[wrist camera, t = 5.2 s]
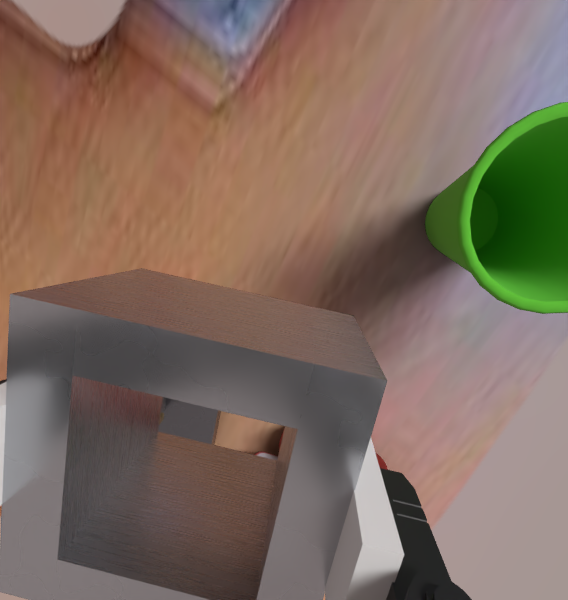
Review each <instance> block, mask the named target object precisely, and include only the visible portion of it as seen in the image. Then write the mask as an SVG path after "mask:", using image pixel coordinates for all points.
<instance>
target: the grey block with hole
mask: <svg viewBox="0 0 568 600" xmlns="http://www.w3.org/2000/svg"><path fill="white" fill-rule="evenodd" d="M386 383H387V379H386V377H385V375H384V373H383V371H382V369H381V368H380V366H379V364H378V362H377V360H376V358H375V356H374V354H373V352H372V350H371V348H370V346H369V344H368V342H367V340H366V338H365V336H364V335H363V333H362V331H361V329H360V327H359V325H358V323H357V321H356V319H355V317H354V316H353V315H349V314H344V313H340V312H335V311H331V310H326V309H322V308H317V307H313V306H308V305H304V304H299V303H295V302H290V301H286V300H281V299H277V298H272V297H268V296H263V295H259V294H254V293H250V292H245V291H241V290H236V289H232V288H227V287H223V286H218V285H214V284H209V283H205V282H200V281H196V280H192V279H187V278H183V277H178V276H174V275H169V274H165V273H160V272H156V271H151V270H147V269H142V268H141V269H136V270H131V271H126V272H121V273H115V274H110V275H105V276H100V277H95V278H90V279H84V280H79V281H74V282H69V283H64V284H59V285H54V286H48V287H43V288H38V289H33V290H28V291H23V292H17V293H12V294H10V309H9V334H8V360H7V386H6V419H5V444H4V470H3V495H2V514H1V540H0V592H2V593H6V594H10V595H14V596H17V597H21V598H25V599H28V600H323V597H324V593H325V586H326V583H327V580H328V576H329V573H330V569H331V566H332V563H333V559H334V556H335V552H336V549H337V546H338V542H339V539H340V536H341V532H342V529H343V525H344V522H345V519H346V515H347V512H348V508H349V505H350V502H351V498H352V495H353V491H354V490H355V488H356V485H357V482H358V478H359V475H360V471H361V468H362V465H363V461H364V458H365V454H366V451H367V448H368V444H369V441H370V438H371V434H372V431H373V427H374V424H375V421H376V417H377V414H378V410H379V407H380V404H381V400H382V397H383V393H384V390H385V387H386ZM163 397H165V398H169V399H174V400H178V401H182V402H186V403H190V404H195V405H199V406H203V407H207V408H211V409H216V410H220V411H224V412H228V413H232V414H237V415H241V416H245V417H249V418H253V419H257V420H262V421H266V422H270V423H274V424H278V425H283V426H285V429H284V433H283V438H282V442H281V446H280V451H279V455H278V459H277V460H273V459H269V458H265V457H261V456H257V455H253V454H249V453H245V452H240V451H236V450H232V449H228V448H224V447H220V446H216V445H212V444H208V443H203V442H199V441H195V440H191V439H187V438H183V437H179V436H175V435H171V434H166V433H162V432H158V429H159V422H160V415H161V408H162V401H163Z"/></svg>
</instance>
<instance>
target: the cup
mask: <svg viewBox="0 0 568 600" xmlns="http://www.w3.org/2000/svg"><path fill="white" fill-rule="evenodd" d="M425 228H426V234H427V236H428V239H429V241H430V242H431V244H432V245H433V246H434V247H435V248H436V249H437V250H438V251H440V252H441V253H442V254H444V255H445V256H447V257H448V258H450V259H451V260H453V261H454V262H456V263H457V264H459V265H460V266H462V267H463V268H465V269H466V270H468V271H469V272H471V273H472V275H473V276H474V278H475V279H476V280H477V282H478V283H479V285H480V286H481V287H483V288H484V289H485V290H486V291H488V292H489V293H490V294H491V295H492V296H494V297H495V298H496V299H497V300H499V301H502V302H504V303H506V304H508V305H511V306H513V307H515V308H517V309H520V310H526V311H531V312H536V313H542V314H545V313H568V102H563V103H558V104H555V105H552V106H549V107H547V108H544V109H541V110H538V111H535V112H532V113H531V114H529V115H527V116H526V117H524V118H522V119H521V120H519V121H518V122H516V123H514V124H513V125H511V126H509V127H508V128H507V129H505V130H504V131H503V132H502V133H501V134H500V135H499V136H498V137H497V138H496V139H495V140H494V141H493V142H492V143H491V144H490V145H489V146H488V147H486V149H485V150H484V152H483V153H482V155H481V156H480V158H479V159H478V161H477V162H476V163H475V165H474V166H473V167H471V168H470V169H469V170H468V171H467V172H465V173H464V174H463V175H462V176H460V177H459V178H458V179H457V180H456V181H454V182H453V183H452V184H451V185H450V186H448V187H447V188H446V189H445V190H444V191H442V192H441V193H440V194H439V195H438V196H437V197H436V198H435V199H434V200H433V202H432V203H431V205H430V206H429V209H428V212H427V214H426V220H425Z"/></svg>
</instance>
